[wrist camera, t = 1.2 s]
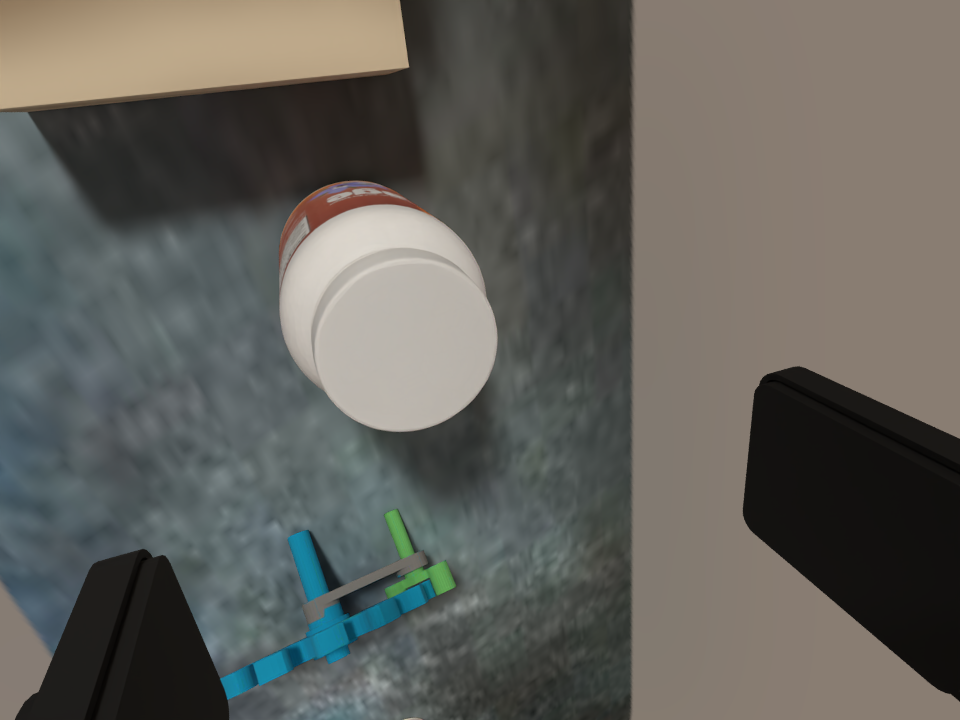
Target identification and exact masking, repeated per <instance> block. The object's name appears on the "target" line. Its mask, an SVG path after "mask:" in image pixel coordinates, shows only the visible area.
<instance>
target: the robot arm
mask: <svg viewBox="0 0 960 720" xmlns="http://www.w3.org/2000/svg"><path fill="white" fill-rule="evenodd" d="M743 516H744V520H745V522H746V524H747V526H748V527H749V529H750V530H751V531H752V532H753V533H754V534H755V535H757V536H758V537H759V538H760V539H761V540H762V541H763V542H765V543H766V544H767V545H768V546H769V547H770V548H772V549H773V550H774V551H775V552H776V553H778V554H779V555H780V556H781V557H782V558H783V559H785V560H786V561H787V562H788V563H790V564H791V565H792V566H793V567H794V568H795V569H796V570H798V571H799V572H800V573H801V574H802V575H803V576H805V577H806V578H807V579H808V580H809V581H811V582H812V583H813V584H814V585H815V586H816V587H817V588H819V589H820V590H821V591H822V592H823V593H825V594H826V595H827V596H828V597H829V598H830V599H832V600H833V601H834V602H835V603H836V604H837V605H839V606H840V607H841V608H842V609H843V610H844V611H846V612H847V613H848V614H849V615H850V616H852V617H853V618H854V619H855V620H856V621H858V622H859V623H860V624H861V625H862V626H863V627H864V628H866V629H867V630H868V631H869V632H870V633H872V634H873V635H874V636H875V637H876V638H877V639H878V640H880V641H881V642H882V643H883V644H884V645H886V646H887V647H888V648H889V649H890V650H891V651H893V652H894V653H895V654H896V655H897V656H899V657H900V658H901V659H902V660H903V661H904V662H906V663H907V664H908V665H909V666H910V667H911V668H913V669H914V670H915V671H916V672H917V673H918V674H920V675H921V676H922V677H923V678H924V679H926V680H927V681H928V682H929V683H930V684H931V685H933V686H934V687H936V688H937V689H938V690H940V691H943V692H945V693H948V694H952V695H953V696H954V697H955V698H956V699H958V700H959V701H960V439H959V438H957V437H955V436H952V435H950V434H948V433H946V432H944V431H941V430H939V429H937V428H935V427H933V426H930V425H928V424H926V423H924V422H922V421H919V420H917V419H915V418H913V417H911V416H909V415H906V414H904V413H902V412H900V411H898V410H896V409H893V408H891V407H889V406H887V405H885V404H882V403H880V402H878V401H876V400H874V399H872V398H869V397H867V396H865V395H863V394H861V393H858V392H856V391H854V390H852V389H850V388H847V387H845V386H843V385H841V384H839V383H836V382H834V381H832V380H830V379H828V378H825V377H823V376H821V375H819V374H817V373H815V372H813V371H810V370H808V369H806V368H803V367H792V368H788V369H784V370H781V371H777V372H774V373H770V374H767V375H766V376H764V377H763V378H762V380H761V381H760V384H759V386H758V387H757V389H756V390H755V393H754V402H753V411H752V422H751V431H750V442H749V452H748V463H747V473H746V483H745V493H744V503H743ZM15 720H229V707H228V700H227V696H226V692H225V689H224V687H223V685H222V682H221V680H220V678H219V675H218V673H217V671H216V668H215V666H214V664H213V661H212V659H211V657H210V655H209V652H208V650H207V648H206V645H205V643H204V641H203V638H202V636H201V634H200V631H199V629H198V627H197V624H196V622H195V620H194V617H193V615H192V613H191V610H190V608H189V606H188V604H187V601H186V599H185V597H184V594H183V592H182V590H181V587H180V585H179V583H178V580H177V578H176V576H175V573H174V571H173V569H172V566H171V564H170V562H169V560H168V559H167V558H166V556H164V555H161V556H157V557H154V558H153V557H152V555H151V554H150V553H149V552H148V551H147V550H145V549H141V550H137V551H134V552H130V553H127V554H123V555H120V556H116V557H112V558H109V559H105V560H102V561H98V562H96V563H94V564H93V565H92V567H91V568H90V570H89V572H88V575H87V577H86V579H85V582H84V584H83V587H82V589H81V591H80V594H79V596H78V598H77V601H76V603H75V606H74V608H73V610H72V613H71V615H70V618H69V620H68V622H67V625H66V627H65V630H64V632H63V634H62V637H61V639H60V642H59V644H58V646H57V649H56V651H55V654H54V656H53V658H52V661H51V663H50V666H49V668H48V670H47V673H46V675H45V678H44V680H43V682H42V685H41V687H40V690H39V692H38V693H35V694H33V695H32V696H31V697H30V698H29V699H28V700H27V701H25V702H24V704H23V706H22V707H21V709H20V711H19V713H18V714H17V716H16V718H15Z"/></svg>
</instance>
